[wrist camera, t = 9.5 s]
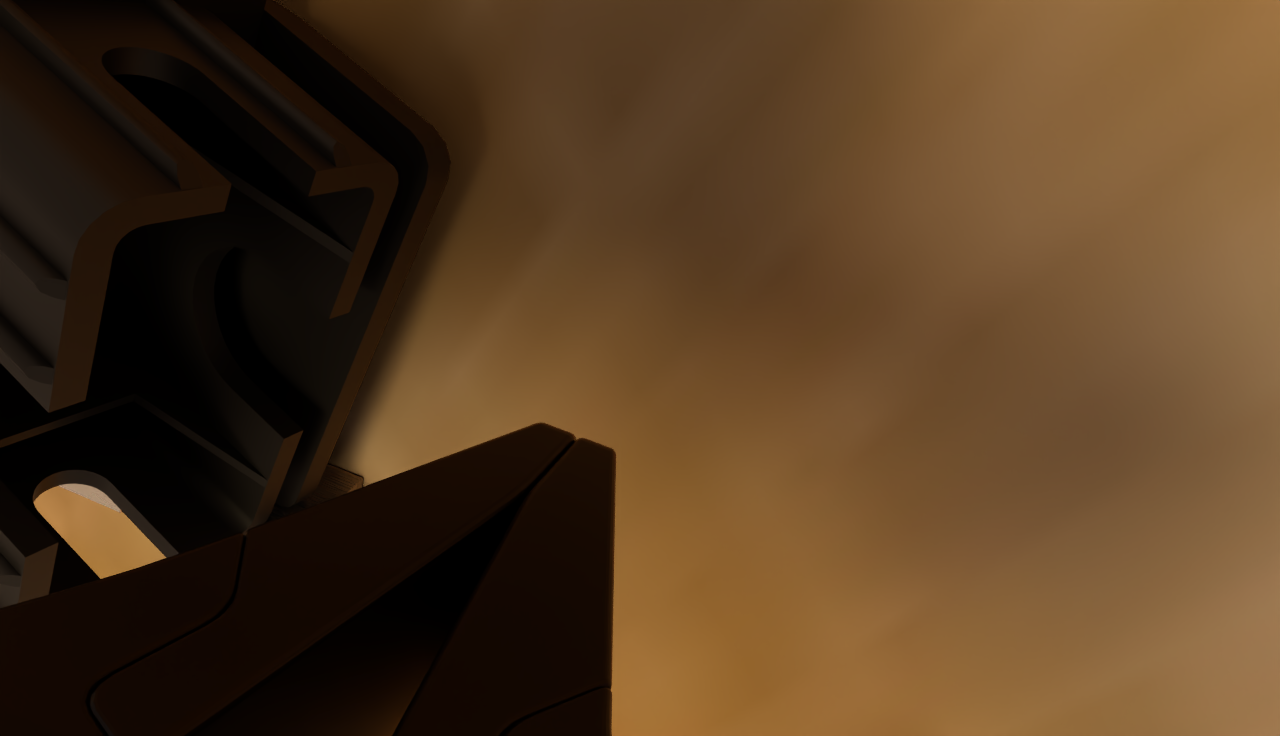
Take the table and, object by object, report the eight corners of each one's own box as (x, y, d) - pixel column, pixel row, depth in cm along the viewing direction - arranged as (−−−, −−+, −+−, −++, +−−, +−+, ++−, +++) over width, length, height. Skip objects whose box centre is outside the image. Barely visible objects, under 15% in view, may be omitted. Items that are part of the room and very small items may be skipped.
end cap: (183, -114, 15) (-386, -214, 9) (476, 123, 14) (17, 173, 8) (101, 316, 20) (-294, 418, 15) (306, 518, 19) (-41, 716, 13)
